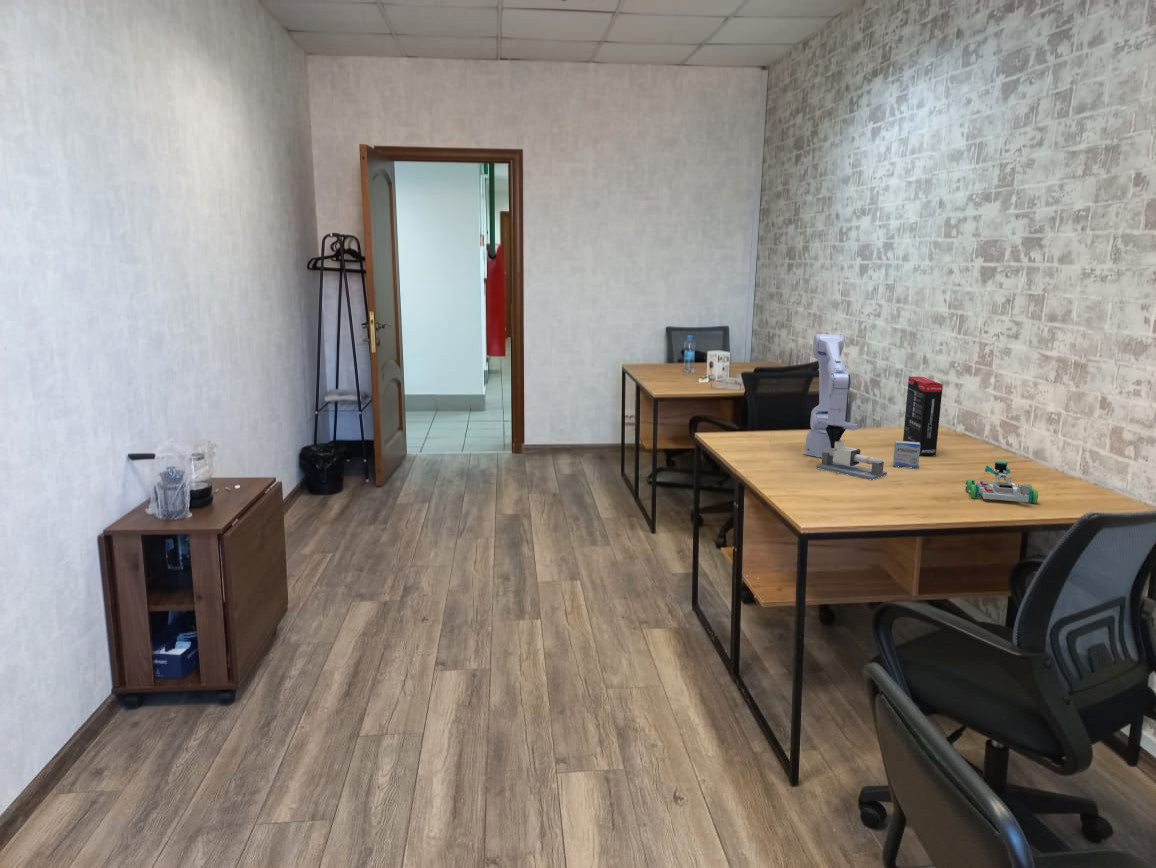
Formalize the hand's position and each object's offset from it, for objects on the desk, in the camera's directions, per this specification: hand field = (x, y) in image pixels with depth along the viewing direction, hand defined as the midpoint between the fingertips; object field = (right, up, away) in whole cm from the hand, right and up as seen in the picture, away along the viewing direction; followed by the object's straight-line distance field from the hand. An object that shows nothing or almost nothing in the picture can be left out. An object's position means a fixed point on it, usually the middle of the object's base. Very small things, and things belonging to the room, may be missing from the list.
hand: (834, 447), depth 270 cm
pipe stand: (+5, -8, -3) cm, 10 cm away
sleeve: (+3, -5, -2) cm, 6 cm away
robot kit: (+41, -14, -26) cm, 51 cm away
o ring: (+5, -6, -5) cm, 9 cm away
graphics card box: (+40, -2, +27) cm, 48 cm away
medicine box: (+26, -7, +4) cm, 27 cm away
